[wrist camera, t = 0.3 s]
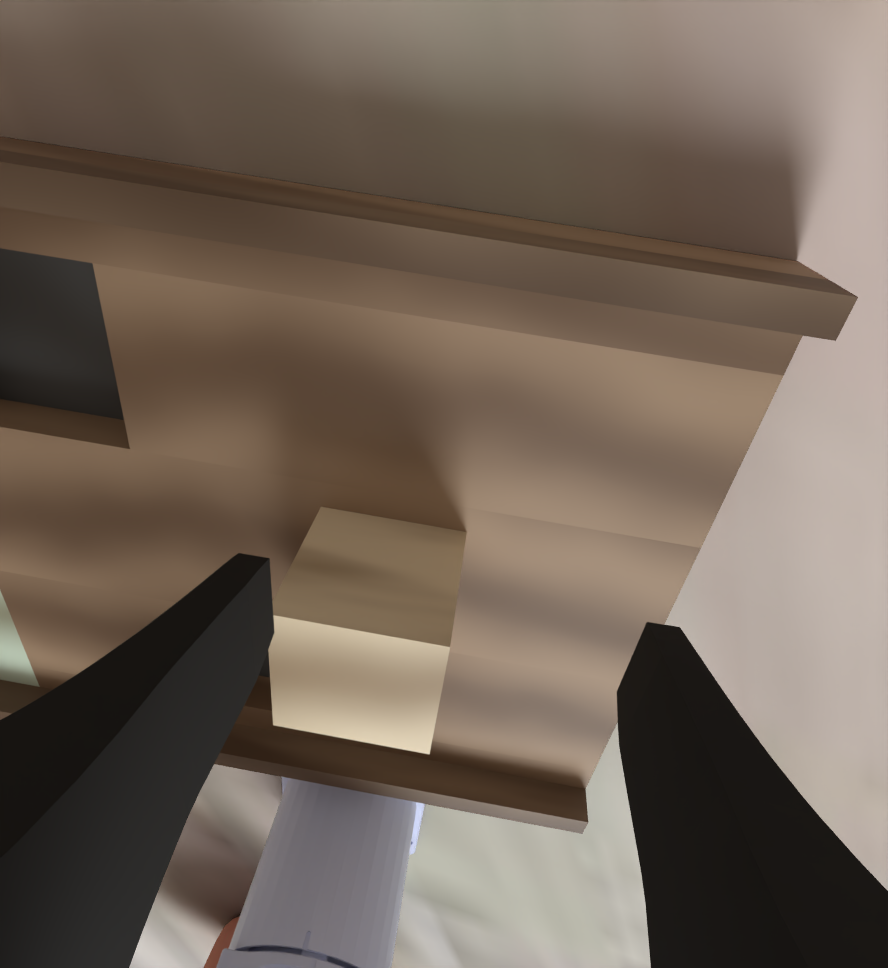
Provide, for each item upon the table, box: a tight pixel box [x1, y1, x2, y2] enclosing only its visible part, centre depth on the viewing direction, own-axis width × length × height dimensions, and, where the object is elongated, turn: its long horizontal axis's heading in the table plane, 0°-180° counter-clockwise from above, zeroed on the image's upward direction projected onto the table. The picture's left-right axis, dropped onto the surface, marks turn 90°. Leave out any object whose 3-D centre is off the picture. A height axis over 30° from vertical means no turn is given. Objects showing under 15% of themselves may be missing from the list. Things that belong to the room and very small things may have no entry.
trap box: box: [0, 137, 858, 834], centre depth 22 cm, size 24×32×4 cm
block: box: [268, 507, 467, 754], centre depth 19 cm, size 5×5×5 cm
